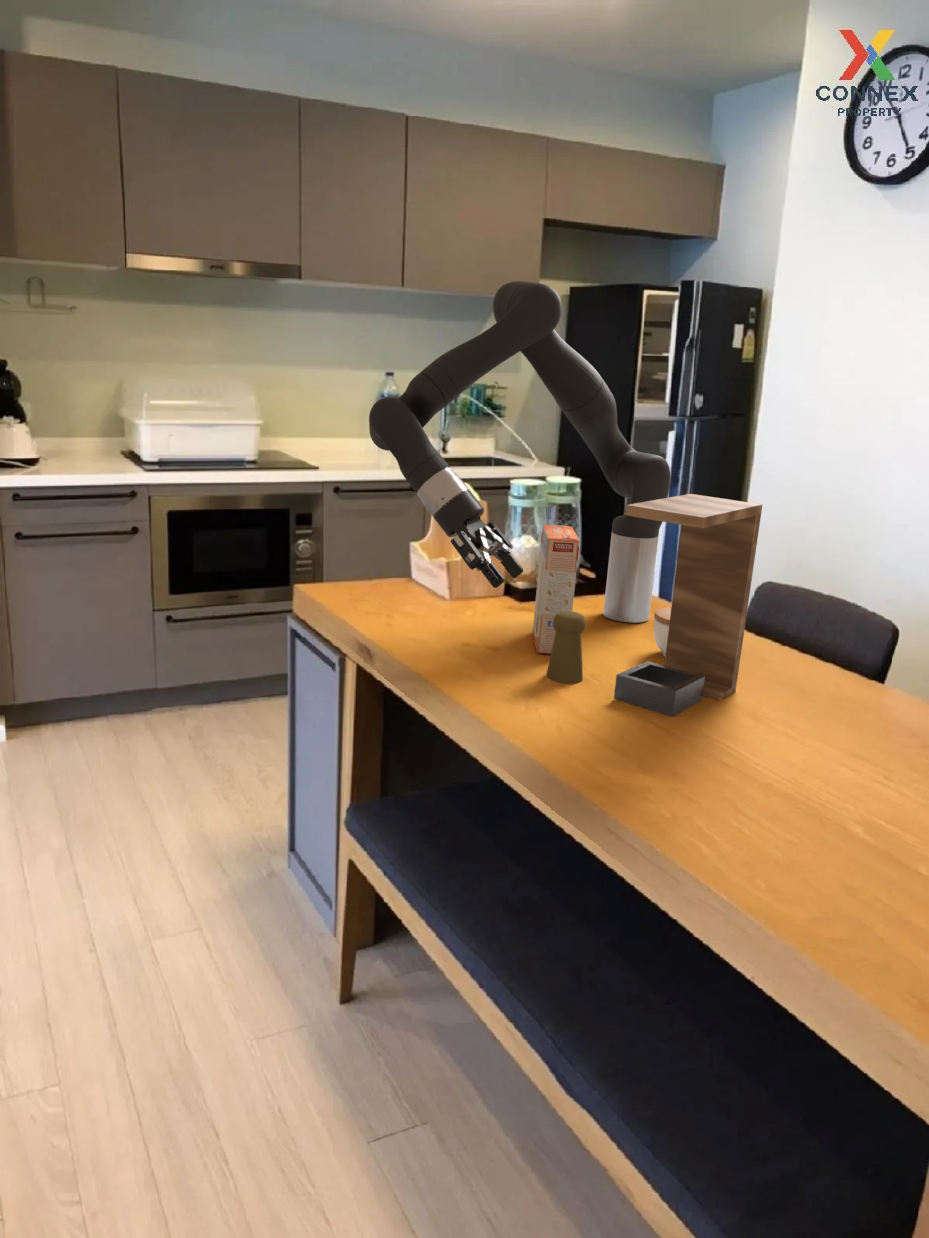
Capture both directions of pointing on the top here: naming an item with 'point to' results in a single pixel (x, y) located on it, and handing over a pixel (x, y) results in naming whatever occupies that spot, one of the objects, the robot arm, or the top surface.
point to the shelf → (708, 584)
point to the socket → (659, 688)
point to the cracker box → (554, 581)
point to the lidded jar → (662, 628)
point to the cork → (567, 648)
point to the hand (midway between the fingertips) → (510, 579)
